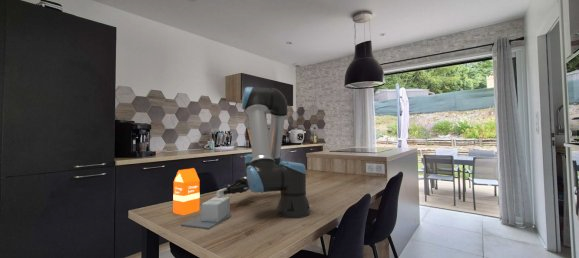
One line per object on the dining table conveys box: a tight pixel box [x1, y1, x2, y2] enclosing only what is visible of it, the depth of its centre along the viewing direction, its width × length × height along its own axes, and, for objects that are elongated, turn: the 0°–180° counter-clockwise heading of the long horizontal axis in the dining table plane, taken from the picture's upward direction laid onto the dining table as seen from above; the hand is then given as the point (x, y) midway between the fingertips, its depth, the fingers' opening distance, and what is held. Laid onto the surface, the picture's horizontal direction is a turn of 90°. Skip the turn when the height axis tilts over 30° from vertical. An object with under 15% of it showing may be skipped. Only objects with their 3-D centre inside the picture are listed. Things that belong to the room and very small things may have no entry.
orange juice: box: [172, 167, 201, 216], centre depth 117 cm, size 8×9×20 cm
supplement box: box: [200, 196, 231, 222], centre depth 106 cm, size 7×7×13 cm
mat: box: [180, 214, 232, 230], centre depth 103 cm, size 16×13×1 cm
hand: (217, 194), depth 111 cm, fingers closed
